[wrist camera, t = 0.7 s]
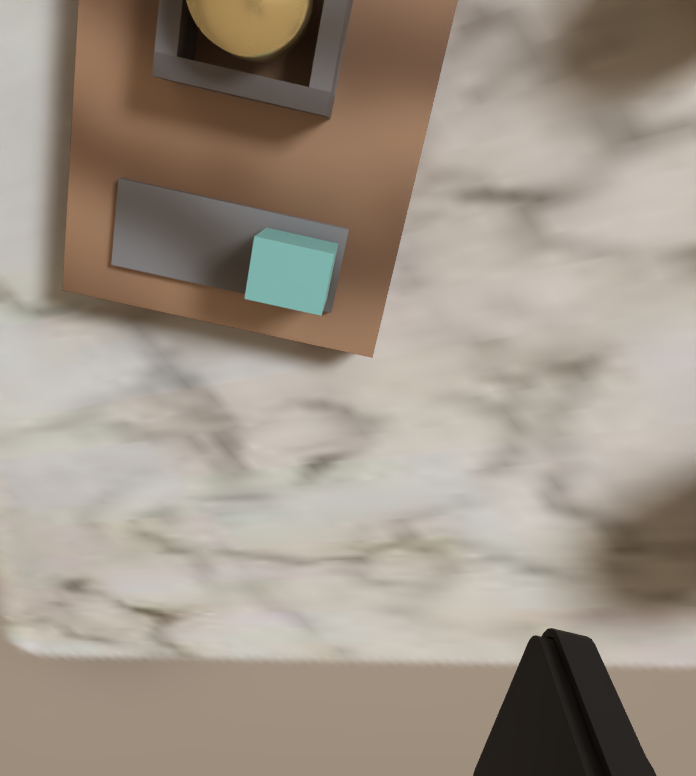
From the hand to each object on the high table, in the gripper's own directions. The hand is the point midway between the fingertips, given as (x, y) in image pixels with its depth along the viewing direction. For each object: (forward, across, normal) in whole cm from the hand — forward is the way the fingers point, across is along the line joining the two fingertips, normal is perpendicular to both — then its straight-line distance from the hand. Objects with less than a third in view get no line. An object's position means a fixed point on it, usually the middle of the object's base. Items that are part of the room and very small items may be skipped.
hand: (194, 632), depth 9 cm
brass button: (+18, +5, -11) cm, 22 cm away
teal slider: (+20, +1, -2) cm, 20 cm away
